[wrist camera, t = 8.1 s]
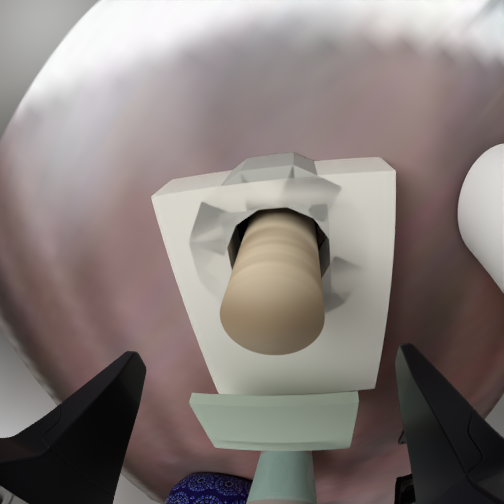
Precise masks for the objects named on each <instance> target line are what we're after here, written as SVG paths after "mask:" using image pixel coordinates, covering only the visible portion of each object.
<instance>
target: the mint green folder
mask: <svg viewBox="0 0 504 504" xmlns="http://www.w3.org/2000/svg"><path fill="white" fill-rule="evenodd" d="M189 404H190V406H191V407H192V409H193V411H194V413H195V415H196V416H197V418H198V420H199V422H200V423H201V425H202V427H203V428H204V430H205V432H206V433H207V435H208V437H209V438H210V440H211V442H212V443H213V445H214V447H215V448H226V449H241V450H262V451H306V450H328V449H342V448H350V444H351V440H352V435H353V431H354V426H355V421H356V415H357V410H358V405H359V398H358V391H352V392H348V391H345V392H332V393H316V394H292V395H236V394H221V395H219V394H201V393H192V395H191V398H190V401H189Z"/></svg>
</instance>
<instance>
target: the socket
mask: <svg viewBox="0 0 504 504" xmlns="http://www.w3.org/2000/svg"><path fill="white" fill-rule="evenodd" d="M151 199H152V202H153V206H154V209H155V213H156V216H157V220H158V223H159V227H160V230H161V233H162V237H163V240H164V243H165V247H166V250H167V253H168V256H169V259H170V262H171V266H172V269H173V272H174V275H175V278H176V281H177V284H178V287H179V290H180V293H181V296H182V299H183V301H184V304H185V307H186V310H187V313H188V316H189V318H190V321H191V324H192V327H193V329H194V332H195V335H196V338H197V340H198V343H199V345H200V348H201V351H202V353H203V356H204V359H205V361H206V364H207V366H208V369H209V371H210V374H211V376H212V379H213V381H214V384H215V386H216V388H217V391H218V393H219V394H236V395H292V394H316V393H332V392H345V391H356V390H365V389H374V388H375V384H376V379H377V375H378V369H379V364H380V359H381V353H382V347H383V341H384V335H385V328H386V321H387V314H388V306H389V298H390V289H391V278H392V267H393V254H394V238H395V212H396V171H395V170H394V169H393V168H392V167H391V166H390V165H389V164H387V163H386V162H385V161H384V160H383V159H382V158H380V157H369V158H350V159H335V160H322V161H312V160H310V159H308V158H306V157H303V156H301V155H299V154H296V153H294V152H292V153H282V154H273V155H265V156H257V157H249V158H247V159H246V160H245V161H243V162H242V163H241V164H240V165H238V166H237V167H236V168H234V169H233V170H231V171H223V172H217V173H210V174H203V175H197V176H191V177H185V178H179V179H173V180H171V181H169V182H168V183H167V184H166V185H165V186H163V187H162V188H161V189H160V190H159V191H157V192H156V193H155V194H154V195H153V196H151ZM283 207H288V208H290V209H293V210H295V211H297V212H300V213H302V214H304V215H307V216H309V217H311V218H314V220H315V221H316V222H317V224H318V225H319V226H320V228H321V229H322V230H323V232H324V233H325V234H326V239H325V240H324V242H323V244H322V246H321V248H320V249H319V251H318V253H319V262H320V271H321V281H322V291H323V302H324V314H325V322H324V326H323V329H322V331H321V333H320V335H319V336H318V338H317V339H316V340H315V341H314V342H313V343H312V344H310V345H309V346H308V347H306V348H304V349H302V350H300V351H298V352H295V353H291V354H286V355H264V354H259V353H255V352H252V351H250V350H247V349H245V348H243V347H242V346H240V345H238V344H237V343H236V342H234V341H233V340H232V339H231V338H230V337H229V336H228V334H227V333H226V332H225V330H224V328H223V326H222V324H221V320H220V306H221V303H222V300H223V297H224V294H225V291H226V288H227V285H228V282H229V279H230V276H231V273H232V270H233V267H234V264H235V261H236V258H237V255H238V252H239V249H240V246H241V243H240V238H239V233H238V228H237V224H239V223H240V222H241V221H243V220H244V219H246V218H247V217H249V216H250V215H251V214H253V213H254V212H256V211H257V210H262V209H272V208H283Z"/></svg>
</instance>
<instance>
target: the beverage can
mask: <svg viewBox="0 0 504 504" xmlns="http://www.w3.org/2000/svg"><path fill="white" fill-rule="evenodd" d="M458 225H459V230H460V234H461V236H462V239H463V241H464V243H465V244H466V246H467V247H468V249H469V250H470V251H471V252H472V253H473V255H474V256H475V257H476V258H477V259H478V261H479V262H480V263H481V264H482V266H483V267H484V268H485V269H486V271H487V272H488V273H489V274H490V276H491V277H492V278H493V280H494V281H495V282H496V284H497V285H498V286H499V288H500V289H501V290H502V292H503V293H504V144H499V145H496V146H494V147H492V148H490V149H489V150H487V151H486V152H484V153H483V154H482V155H481V156H480V157H479V158H478V159H477V160H476V162H475V163H474V164H473V166H472V167H471V169H470V170H469V172H468V174H467V176H466V178H465V180H464V183H463V185H462V189H461V192H460V196H459V202H458Z"/></svg>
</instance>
